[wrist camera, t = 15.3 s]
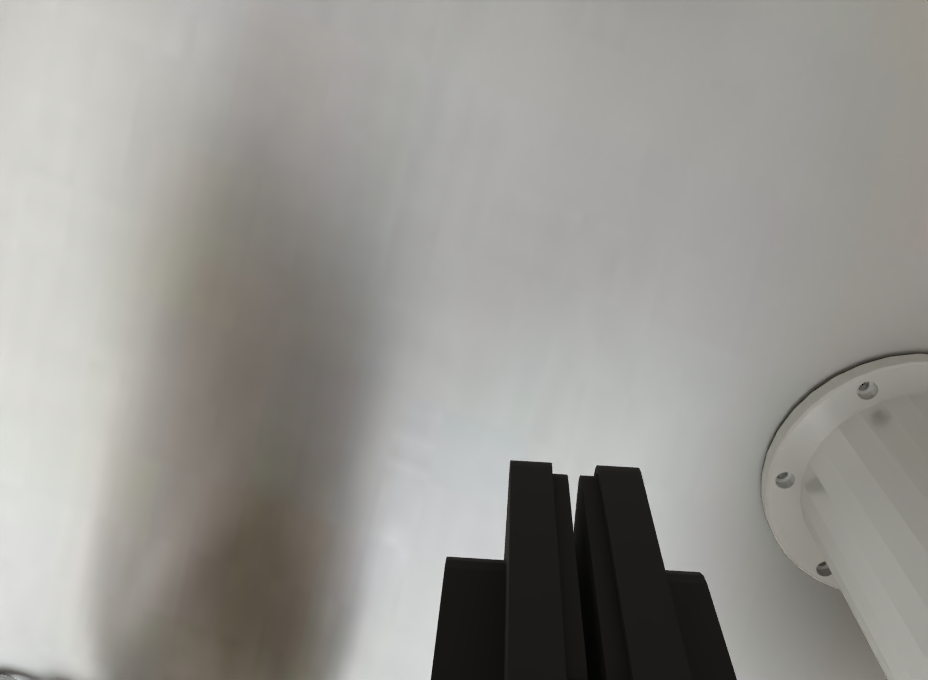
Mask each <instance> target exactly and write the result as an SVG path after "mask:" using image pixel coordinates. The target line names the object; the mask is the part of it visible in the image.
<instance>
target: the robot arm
mask: <svg viewBox="0 0 928 680" xmlns="http://www.w3.org/2000/svg"><path fill="white" fill-rule="evenodd" d="M864 382H865V384H864V385H862V386H860V385H861V384H863V383H864ZM781 473H782V474H781ZM761 498H762V502H763V507H764V512H765V516H766V519H767V521H768V523H769V525H770V528H771V530H772V533H773V535H774V537H775V539H776V540H777V542H778V543H779V545H780V547H781V548H782V550H783V551H784V553H785V554H786V555H787V556H788V557H789V558H790V559H791V560H792V561H793V562H794V563H795V564H796V565H797V566H798V567H799V568H800V569H801V570H802V571H804V572H805V573H806V574H808V575H809V576H811V577H812V578H814V579H815V580H817V581H819V582H821V583H824V584H826V585H829V586H831V587H833V588H836V589H838V590H841V592H842V594H843V595H844V597H845V599H846V601H847V603H848V605H849V607H850V609H851V611H852V613H853V614H854V616H855V618H856V620H857V622H858V624H859V626H860V628H861V630H862V632H863V634H864V635H865V637H866V639H867V641H868V643H869V645H870V647H871V649H872V651H873V653H874V655H875V656H876V658H877V660H878V662H879V664H880V666H881V668H882V670H883V672H884V674H885V675H886V677H887V679H888V680H928V354H910V355H901V356H893V357H887V358H883V359H880V360H876V361H873V362H869V363H866V364H862V365H860V366H857V367H855V368H853V369H851V370H849V371H847V372H844V373H842V374H840V375H838V376H836V377H834V378H833V379H831V380H830V381H828V382H827V383H825V384H824V385H822V386H821V387H819V388H818V389H816V390H815V391H813V392H812V393H811V394H810V395H809V396H808V397H807V398H806V399H805V400H803V401H802V402H801V403H800V404H799V405H798V406H797V407H796V408H795V409H794V410H793V411H792V412H791V414H790V415H789V416H788V418H787V419H786V420H785V422H784V423H783V424H782V426H781V427H780V428H779V430H778V431H777V433H776V435H775V437H774V440H773V442H772V444H771V446H770V448H769V450H768V452H767V455H766V459H765V464H764V468H763V472H762V485H761ZM431 680H737V679H736V676H735V672H734V669H733V666H732V663H731V659H730V656H729V653H728V650H727V647H726V643H725V640H724V637H723V634H722V630H721V627H720V624H719V621H718V618H717V614H716V611H715V608H714V605H713V601H712V598H711V595H710V592H709V589H708V585H707V583H706V580H705V578H704V576H703V575H702V574H701V573H700V572H685V571H669V570H665V568H664V564H663V560H662V556H661V552H660V548H659V544H658V540H657V535H656V531H655V527H654V523H653V519H652V515H651V511H650V507H649V503H648V499H647V495H646V491H645V487H644V483H643V479H642V475H641V471H640V469H639V468H633V467H616V466H599V465H597V466H596V469H595V473H594V476H581V475H580V477H579V483H578V492H577V503H576V513H575V523H574V533H573V523H572V513H571V503H570V493H569V483H568V475H564V474H553V473H552V463H547V462H529V461H512V460H510V471H509V487H508V504H507V520H506V537H505V553H504V560H492V559H476V558H460V557H447V558H446V563H445V570H444V578H443V586H442V594H441V603H440V611H439V619H438V627H437V635H436V643H435V651H434V659H433V667H432V675H431Z"/></svg>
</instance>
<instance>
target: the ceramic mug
mask: <svg viewBox="0 0 928 680" xmlns="http://www.w3.org/2000/svg"><path fill="white" fill-rule="evenodd" d="M0 680H16V679H14V678H13V677H11V676H8V675H3V674H0Z"/></svg>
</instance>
